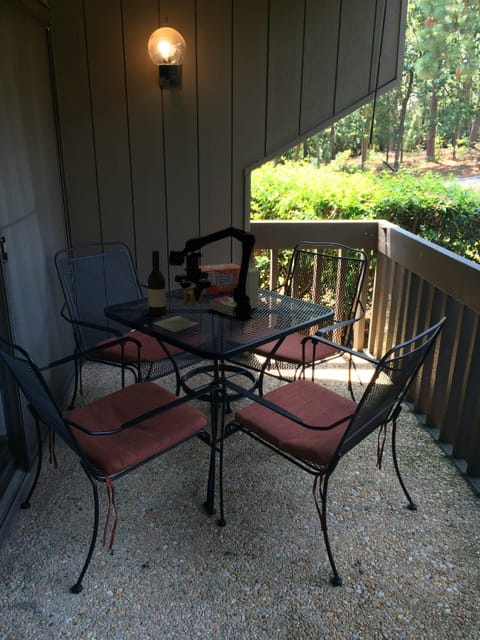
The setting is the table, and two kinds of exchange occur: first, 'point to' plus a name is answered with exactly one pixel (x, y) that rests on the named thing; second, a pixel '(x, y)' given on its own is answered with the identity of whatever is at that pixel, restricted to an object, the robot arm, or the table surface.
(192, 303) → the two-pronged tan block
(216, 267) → the box
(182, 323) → the mat
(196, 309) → the table surface
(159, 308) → the wine bottle
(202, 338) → the table surface
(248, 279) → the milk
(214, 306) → the candy bar box
